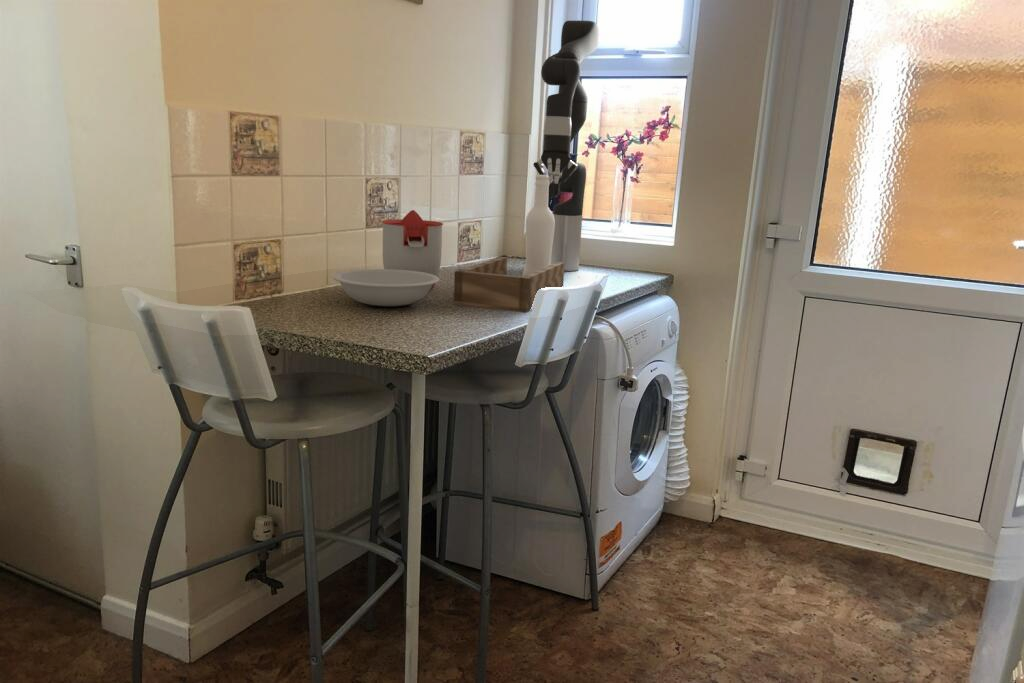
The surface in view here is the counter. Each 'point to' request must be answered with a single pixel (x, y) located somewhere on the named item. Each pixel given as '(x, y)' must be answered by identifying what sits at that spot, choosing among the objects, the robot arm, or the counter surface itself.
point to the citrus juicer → (412, 244)
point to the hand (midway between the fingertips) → (553, 197)
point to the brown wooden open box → (503, 285)
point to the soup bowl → (386, 285)
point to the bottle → (539, 229)
